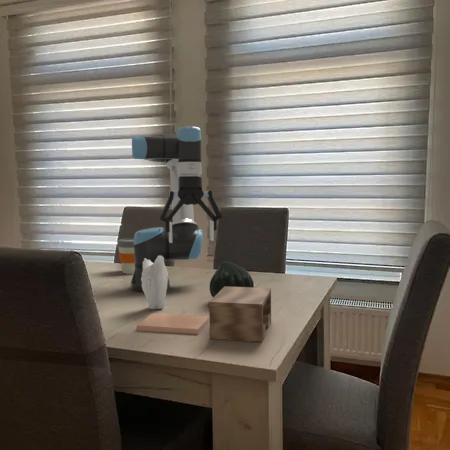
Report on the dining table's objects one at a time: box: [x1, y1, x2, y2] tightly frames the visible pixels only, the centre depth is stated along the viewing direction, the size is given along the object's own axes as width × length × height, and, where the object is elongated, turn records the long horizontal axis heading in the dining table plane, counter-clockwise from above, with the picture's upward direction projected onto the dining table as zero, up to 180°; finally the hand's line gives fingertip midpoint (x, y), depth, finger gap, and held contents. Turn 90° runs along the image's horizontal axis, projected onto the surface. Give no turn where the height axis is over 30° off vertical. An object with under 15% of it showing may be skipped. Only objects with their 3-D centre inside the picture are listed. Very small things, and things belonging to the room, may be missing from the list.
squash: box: [209, 260, 255, 299], centre depth 159 cm, size 14×15×15 cm
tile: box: [136, 312, 210, 335], centre depth 135 cm, size 18×12×2 cm, turn 77°
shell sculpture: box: [141, 256, 169, 310], centre depth 152 cm, size 8×8×18 cm
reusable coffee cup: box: [117, 237, 135, 275], centre depth 214 cm, size 13×13×15 cm
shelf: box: [208, 286, 272, 343], centre depth 130 cm, size 14×18×10 cm
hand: (191, 241), depth 152 cm, fingers open, 13 cm apart
